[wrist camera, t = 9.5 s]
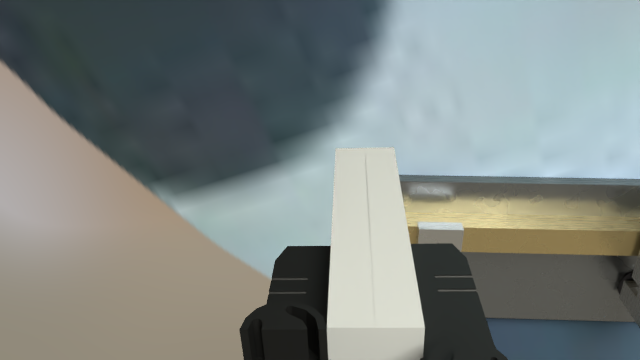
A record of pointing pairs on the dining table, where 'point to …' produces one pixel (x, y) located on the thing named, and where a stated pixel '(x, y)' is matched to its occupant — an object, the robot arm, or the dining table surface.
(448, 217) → the beam
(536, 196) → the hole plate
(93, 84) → the dining table surface
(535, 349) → the dining table surface
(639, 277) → the block
